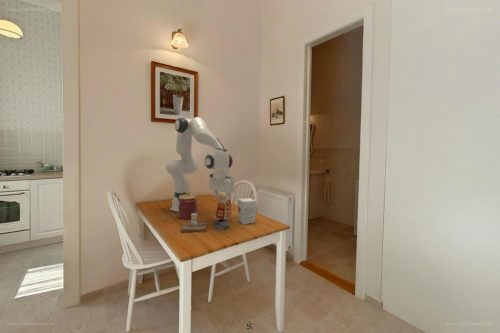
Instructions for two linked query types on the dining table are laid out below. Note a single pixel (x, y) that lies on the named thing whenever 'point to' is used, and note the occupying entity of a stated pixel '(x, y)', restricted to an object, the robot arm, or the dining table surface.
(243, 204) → the supplement box
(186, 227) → the post base
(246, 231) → the dining table surface
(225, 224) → the collar
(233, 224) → the dining table surface
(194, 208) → the canister
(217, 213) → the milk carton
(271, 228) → the dining table surface
